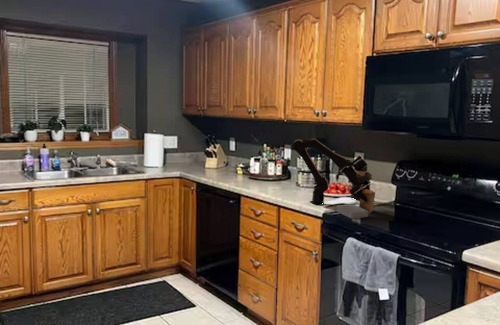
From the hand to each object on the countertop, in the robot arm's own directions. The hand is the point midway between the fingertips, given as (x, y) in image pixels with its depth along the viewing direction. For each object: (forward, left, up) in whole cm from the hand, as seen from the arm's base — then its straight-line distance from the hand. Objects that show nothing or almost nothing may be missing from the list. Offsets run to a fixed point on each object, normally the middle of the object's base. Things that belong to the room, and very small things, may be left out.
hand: (369, 199), depth 238 cm
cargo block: (-1, -1, +2) cm, 2 cm away
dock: (+1, -12, -7) cm, 14 cm away
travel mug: (-22, +11, -7) cm, 26 cm away
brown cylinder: (-1, -1, -7) cm, 7 cm away
